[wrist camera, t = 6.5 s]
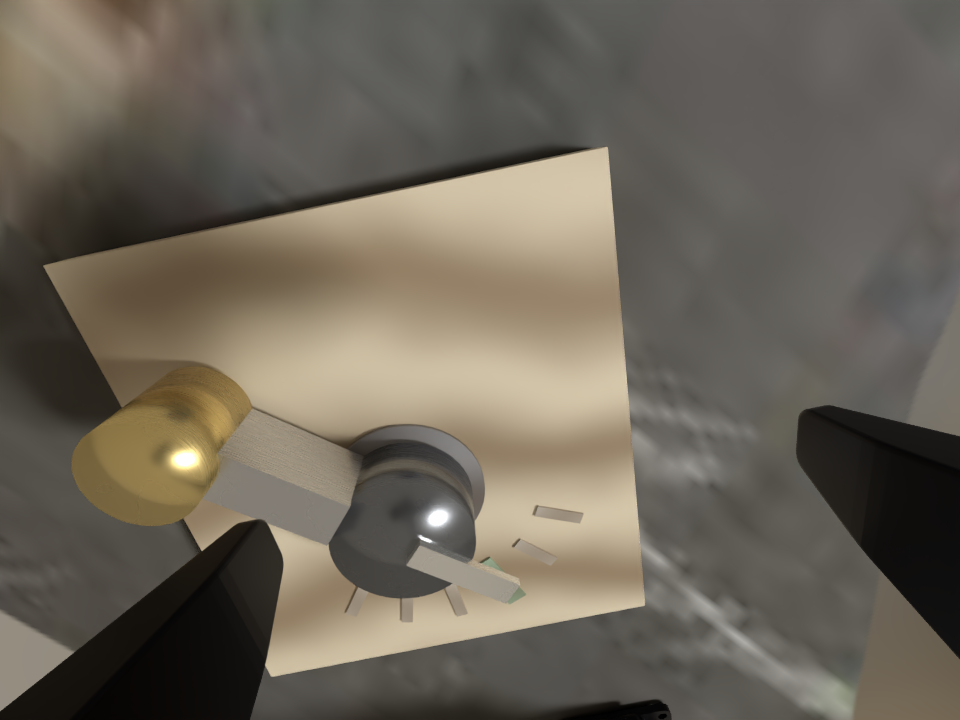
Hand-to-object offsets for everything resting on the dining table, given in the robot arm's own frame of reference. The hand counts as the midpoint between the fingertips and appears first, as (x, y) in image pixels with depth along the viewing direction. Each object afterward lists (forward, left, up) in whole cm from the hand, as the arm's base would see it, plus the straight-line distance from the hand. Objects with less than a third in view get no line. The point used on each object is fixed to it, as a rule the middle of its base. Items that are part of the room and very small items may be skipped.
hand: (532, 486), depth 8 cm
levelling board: (-5, +4, -11) cm, 13 cm away
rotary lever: (-5, +6, -9) cm, 12 cm away
